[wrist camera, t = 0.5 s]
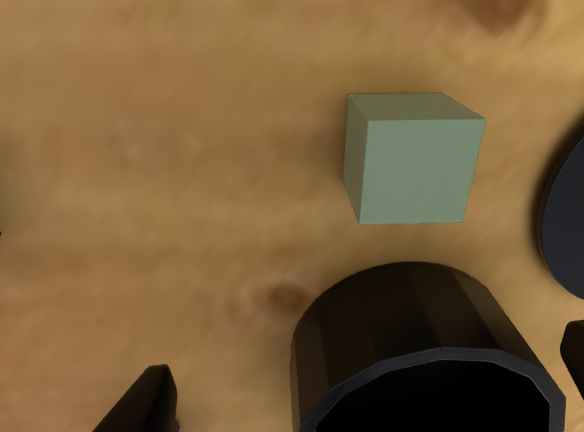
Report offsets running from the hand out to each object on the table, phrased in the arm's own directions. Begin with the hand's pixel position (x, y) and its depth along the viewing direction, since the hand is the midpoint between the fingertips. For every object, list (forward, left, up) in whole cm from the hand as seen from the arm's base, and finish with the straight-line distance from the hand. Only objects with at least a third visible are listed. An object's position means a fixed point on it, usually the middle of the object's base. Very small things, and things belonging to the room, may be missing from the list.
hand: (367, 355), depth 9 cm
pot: (-14, -2, -12) cm, 19 cm away
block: (0, -4, -12) cm, 13 cm away
